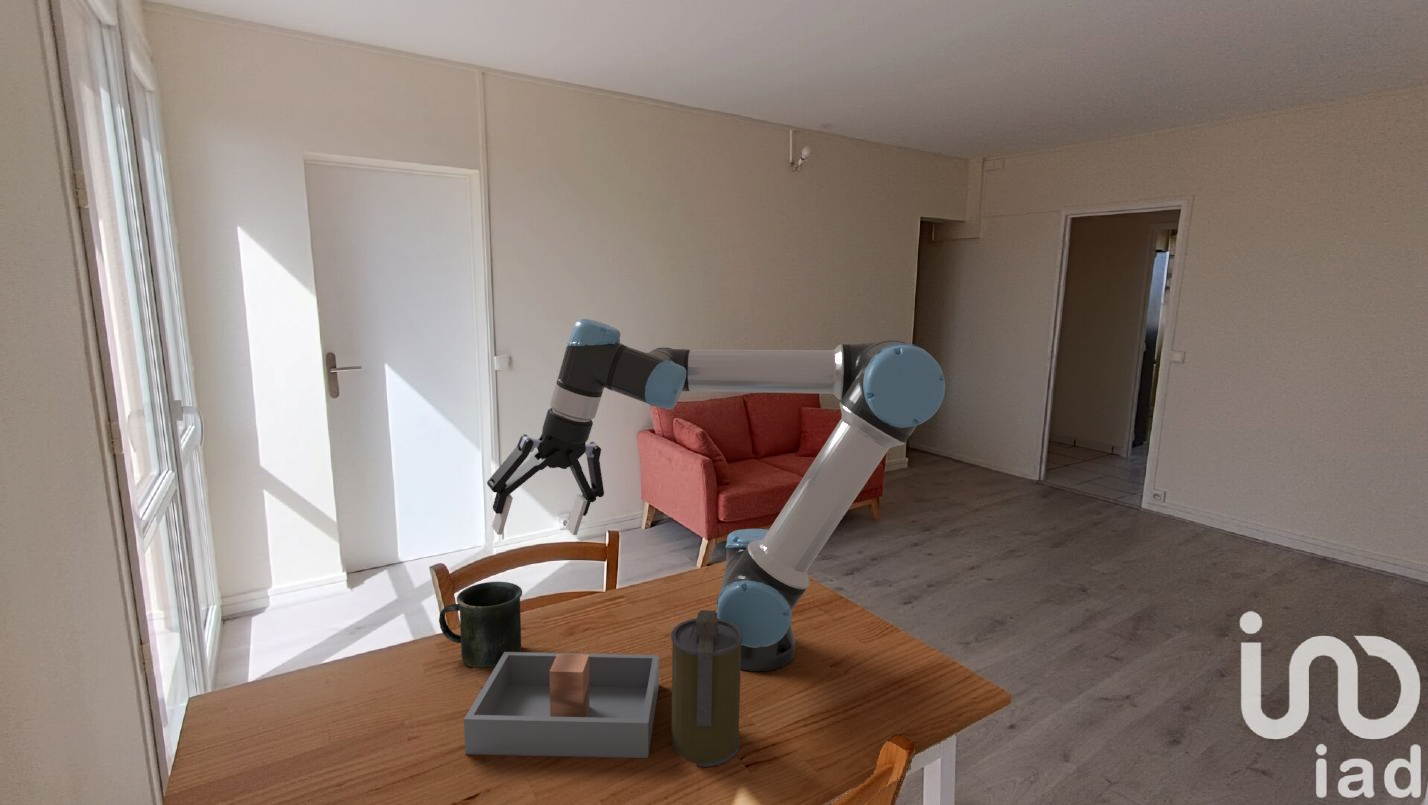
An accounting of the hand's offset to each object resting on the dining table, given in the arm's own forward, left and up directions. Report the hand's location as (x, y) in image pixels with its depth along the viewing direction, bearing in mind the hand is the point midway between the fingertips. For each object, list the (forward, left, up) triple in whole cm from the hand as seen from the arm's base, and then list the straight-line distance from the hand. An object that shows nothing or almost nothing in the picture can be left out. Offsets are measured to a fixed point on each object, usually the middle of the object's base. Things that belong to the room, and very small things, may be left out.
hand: (535, 531), depth 111 cm
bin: (-8, +12, -26) cm, 30 cm away
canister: (-29, +17, -26) cm, 43 cm away
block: (-8, +12, -25) cm, 30 cm away
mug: (+12, -6, -26) cm, 29 cm away
